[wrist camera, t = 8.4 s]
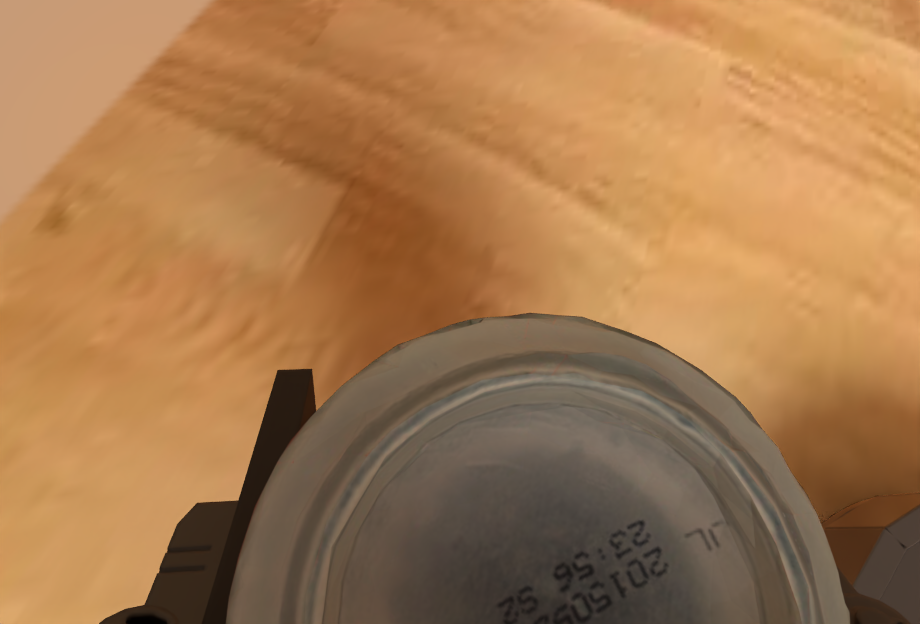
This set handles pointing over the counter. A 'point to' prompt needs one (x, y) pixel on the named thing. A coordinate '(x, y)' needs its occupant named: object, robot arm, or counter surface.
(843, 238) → the counter surface
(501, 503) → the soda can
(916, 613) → the holder
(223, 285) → the counter surface
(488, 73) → the counter surface
